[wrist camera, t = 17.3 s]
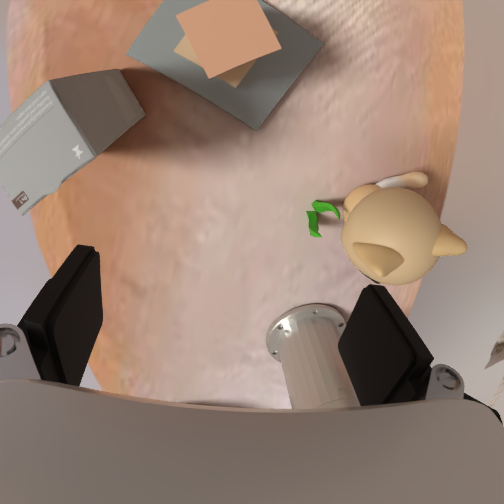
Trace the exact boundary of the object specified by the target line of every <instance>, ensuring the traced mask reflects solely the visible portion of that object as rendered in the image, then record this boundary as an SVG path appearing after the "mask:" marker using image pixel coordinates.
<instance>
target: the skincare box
mask: <svg viewBox="0 0 504 504" xmlns="http://www.w3.org/2000/svg"><path fill="white" fill-rule="evenodd" d="M144 116H145V112H144V111H143V109H142V107H141V106H140V104H139V102H138V101H137V99H136V97H135V95H134V94H133V92H132V90H131V89H130V87H129V85H128V84H127V82H126V80H125V79H124V77H123V75H122V74H121V72H120V70H119V69H112V70H105V71H98V72H91V73H85V74H79V75H74V76H68V77H63V78H58V79H53V80H48V81H47V82H45V83H44V84H43V85H42V86H41V87H40V88H39V89H37V90H36V91H35V92H34V93H33V94H32V95H31V96H30V97H29V98H28V99H27V100H25V101H24V102H23V103H22V104H21V105H20V106H19V107H18V108H17V109H16V110H15V111H14V112H13V113H12V114H11V115H10V116H9V117H8V118H7V119H6V120H5V122H4V123H3V124H2V125H1V126H0V185H1V186H2V188H3V189H4V190H5V192H6V194H7V195H8V197H9V198H10V200H11V201H12V202H13V204H14V206H15V207H16V208H17V210H18V211H19V213H20V214H21V215H24V214H26V213H27V212H28V211H29V210H30V209H31V208H33V207H34V206H35V205H36V204H37V203H38V202H40V201H41V200H42V199H43V198H44V197H46V196H47V195H50V194H52V193H54V192H55V191H57V190H58V188H59V187H60V185H61V184H62V183H63V182H64V181H66V180H67V179H68V178H70V177H71V176H72V175H73V174H75V173H76V172H77V171H79V170H80V169H81V168H83V167H84V166H85V165H87V164H88V163H90V162H91V161H92V160H94V159H95V158H96V157H97V156H98V155H100V154H101V153H102V152H103V151H104V150H105V149H106V148H107V147H109V146H110V145H111V144H112V143H113V142H114V141H115V140H116V139H118V138H119V137H120V136H121V135H122V134H123V133H125V132H126V131H127V130H128V129H129V128H130V127H132V126H133V125H134V124H135V123H137V122H138V121H139V120H140V119H142V118H143V117H144Z"/></svg>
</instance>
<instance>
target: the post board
mask: <svg viewBox="0 0 504 504" xmlns="http://www.w3.org/2000/svg"><path fill="white" fill-rule="evenodd" d="M206 1H209V0H164V1H163V2H162V4H161V5H160V6H159V7H158V9H157V10H156V11H155V13H154V14H153V15H152V17H151V18H150V20H149V21H148V22H147V24H146V25H145V27H144V28H143V29H142V31H141V32H140V34H139V35H138V37H137V38H136V40H135V41H134V43H133V44H132V46H131V47H130V49H129V50H128V52H127V53H126V55H128V56H130V57H132V58H134V59H136V60H138V61H140V62H142V63H143V64H145V65H147V66H149V67H151V68H153V69H155V70H157V71H158V72H160V73H162V74H164V75H166V76H167V77H169V78H171V79H173V80H175V81H176V82H178V83H180V84H182V85H183V86H185V87H187V88H189V89H190V90H192V91H194V92H195V93H197V94H199V95H200V96H202V97H204V98H205V99H207V100H209V101H210V102H212V103H214V104H215V105H217V106H218V107H220V108H222V109H223V110H225V111H226V112H228V113H230V114H231V115H233V116H234V117H236V118H237V119H239V120H241V121H242V122H244V123H245V124H247V125H248V126H250V127H251V128H253V129H254V130H256V131H257V130H258V128H259V127H260V126H261V124H262V123H263V122H264V120H265V119H266V118H267V116H268V115H269V114H270V112H271V111H272V110H273V108H274V107H275V106H276V104H277V103H278V102H279V100H280V99H281V98H282V96H283V95H284V94H285V93H286V91H287V90H288V89H289V87H290V86H291V85H292V83H293V82H294V81H295V80H296V78H297V77H298V76H299V75H300V73H301V72H302V71H303V70H304V68H305V67H306V66H307V65H308V63H309V62H310V61H311V60H312V58H313V57H314V56H315V55H316V53H317V52H318V51H319V50H320V49H321V47H322V46H323V45H324V44H323V43H322V42H320V41H319V40H318V39H317V38H315V37H314V36H313V35H311V34H310V33H309V32H307V31H306V30H305V29H303V28H302V27H300V26H299V25H298V24H296V23H295V22H293V21H292V20H291V19H289V18H288V17H286V16H285V15H283V14H282V13H280V12H279V11H277V10H276V9H274V8H273V7H271V6H270V5H268V4H267V3H265V2H264V1H262V0H257V1H258V3H259V4H260V6H261V8H262V10H263V12H264V14H265V16H266V18H267V20H268V22H269V24H270V26H271V28H272V30H273V32H274V34H275V36H276V38H277V40H278V42H279V44H280V46H281V48H282V49H280V50H278V51H276V52H273V53H271V54H269V55H267V56H264V57H261V58H259V59H256V60H254V61H251V62H249V63H247V64H244V65H242V66H240V67H237V68H235V69H233V70H230V71H228V72H226V73H224V74H221V75H219V76H217V77H215V78H213V79H211V80H210V79H209V78H208V76H207V74H206V72H205V70H204V68H203V66H202V64H201V62H200V61H199V59H198V57H197V55H196V53H195V51H194V49H193V47H192V45H191V44H190V42H189V40H188V38H187V36H186V34H185V32H184V30H183V29H182V27H181V25H180V23H179V21H178V19H177V18H176V15H178V14H180V13H182V12H184V11H186V10H188V9H190V8H193V7H195V6H197V5H199V4H202V3H204V2H206Z"/></svg>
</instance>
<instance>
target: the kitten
mask: <svg viewBox="0 0 504 504" xmlns="http://www.w3.org/2000/svg"><path fill="white" fill-rule="evenodd" d="M427 183H428V176H427V175H426V174H424V173H422V172H418V171H413V172H409V173H406V174H404V175H400V176H395V177H390V178H386V179H383V180H381V181H379V182H378V183H376V184H374V185H373V184H367V185H362V186H360V187H357V188H356V189H354V190H353V191H352V192H350V194H349V195H348V196H347V197H346V199H345V201H344V204H343V216H344V222H345V224H344V226H343V229H342V234H341V242H342V247H343V249H344V252H345V254H346V255H347V257H348V258H349V260H350V261H351V262H352V263H353V264H354V265H355V267H356V268H358V269H359V271H360V272H361V273H362V274H364V275H365V276H366V277H368V278H370V279H371V280H372V281H374V282H375V283H377V284H379V283H383V284H388V285H404V284H408V283H412V282H414V281H416V280H418V279H420V278H422V277H423V276H425V275H426V274H427V273H428V272H429V271H430V270H431V269H432V268H433V266H434V265H435V264H436V262H437V261H438V259H439V257H440V256H448V255H461V254H463V253H465V252H466V251H467V244H466V242H465V241H464V240H463V239H462V238H460V237H459V236H457V235H456V234H454V233H453V232H452V231H451V230H450V229H449V228H448V227H447V226H445V225H443V224H441V222H440V219H439V217H438V215H437V213H436V211H435V210H434V208H433V207H432V206H431V204H430V203H429V202H428V201H427V200H426V199H425V198H423V197H422V196H421V195H419V194H418V193H416V192H414V191H412V190H409V189H406V187H410V188H422V187H424V186H426V185H427ZM312 206H313V208H314V209H315V210H316V211H317V212H318V213H320V212H325V211H333V212H334V213H335V214H336V216H337V217H338V219H340V212H339V210H338V209H337V208H336V207H335V206H333V205H331V204H329V203H325V202H317V200H315V201H314V202H313V204H312ZM306 212H307V215H308V218H309V230H310V235H311V236H314V237H322V236H321V235H320V234H319V233H318V230H319V226H318V220H317V216H316V213H315V211H306Z"/></svg>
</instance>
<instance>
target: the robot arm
mask: <svg viewBox="0 0 504 504" xmlns="http://www.w3.org/2000/svg"><path fill="white" fill-rule="evenodd" d="M102 322H103V309H102V295H101V278H100V255H99V252H96V251H95V249H94V247H92V246H85V245H77V246H76V247H75V248H74V250H73V251H72V252H71V254H70V255H69V256H68V257H67V259H66V260H65V261H64V263H63V264H62V265H61V267H60V268H59V269H58V271H57V272H56V274H55V275H54V276H53V278H52V279H49V280H48V281H47V283H46V284H45V285H44V287H43V288H42V289H41V291H40V292H39V294H38V295H37V297H36V298H35V299H34V301H33V302H32V304H31V305H30V307H29V308H28V310H27V311H26V313H25V314H24V316H23V317H22V319H21V321H20V322H19V324H18V325H17V326H15V325H12V324H0V504H504V427H503V424H502V420H501V418H500V415H499V413H498V412H497V411H496V410H495V409H492V408H491V407H489V406H487V405H485V404H483V403H481V402H480V401H478V400H476V399H474V398H473V397H471V396H469V395H467V394H465V393H464V382H463V379H462V377H461V376H460V374H459V373H458V372H457V371H455V370H454V369H453V368H451V367H450V366H447V365H444V364H438V365H435V366H434V367H433V368H431V367H430V364H431V362H432V361H433V360H434V357H433V356H432V354H431V353H430V351H429V350H428V348H427V347H426V345H425V344H424V342H423V341H422V339H421V338H420V336H419V335H418V333H417V332H416V330H415V329H414V328H413V326H412V325H411V323H410V322H409V320H408V319H407V317H406V316H405V314H404V313H403V312H402V310H401V309H400V307H399V306H398V305H397V303H396V302H395V300H394V299H393V298H392V296H391V295H390V293H389V292H388V291H387V289H386V288H385V287H384V286H381V285H372V284H370V285H368V286H367V287H366V288H364V289H363V290H362V292H361V294H360V296H359V299H358V301H357V303H356V305H355V308H354V310H353V312H352V314H351V316H350V318H349V321H348V323H347V325H346V322H345V320H344V318H343V316H342V315H341V313H340V312H339V311H338V310H336V309H335V308H333V307H330V306H327V305H321V304H311V305H305V306H300V307H298V308H295V309H292V310H290V311H288V312H286V313H285V314H283V315H282V316H281V317H279V318H278V319H277V320H276V321H275V322H274V323H273V324H272V326H271V327H270V329H269V331H268V333H267V338H266V343H267V348H268V352H269V353H270V355H271V356H272V357H273V358H274V359H275V360H277V361H279V362H281V363H282V368H283V372H284V376H285V380H286V385H287V389H288V393H289V398H290V402H291V406H292V409H258V408H235V407H219V406H206V405H195V404H185V403H176V402H168V401H160V400H153V399H146V398H140V397H134V396H127V395H121V394H115V393H109V392H104V391H99V390H94V389H89V388H83V387H79V386H80V382H81V379H82V377H83V374H84V371H85V368H86V365H87V363H88V360H89V357H90V354H91V352H92V349H93V346H94V344H95V341H96V339H97V336H98V333H99V331H100V328H101V326H102Z"/></svg>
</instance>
